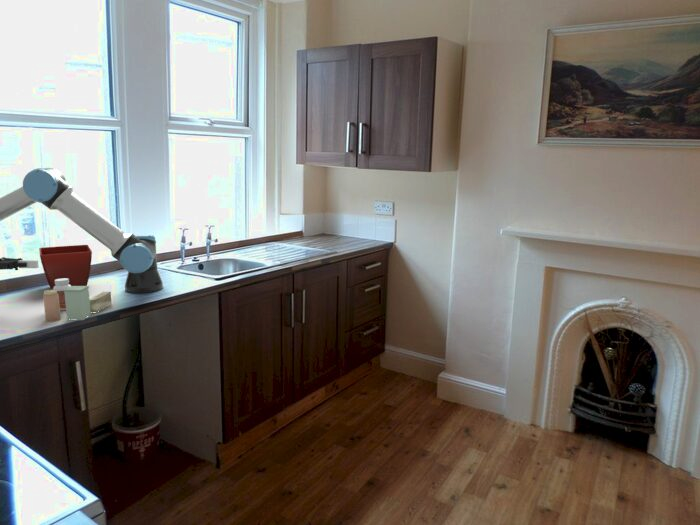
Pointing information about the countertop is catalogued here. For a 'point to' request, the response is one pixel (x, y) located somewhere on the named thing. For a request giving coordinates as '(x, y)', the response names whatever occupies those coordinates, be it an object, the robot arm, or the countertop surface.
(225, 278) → the countertop surface
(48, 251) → the plant pot
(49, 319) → the spice jar
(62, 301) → the pill bottle
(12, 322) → the countertop surface
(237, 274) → the countertop surface
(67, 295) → the tea tin
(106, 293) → the block
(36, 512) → the countertop surface
